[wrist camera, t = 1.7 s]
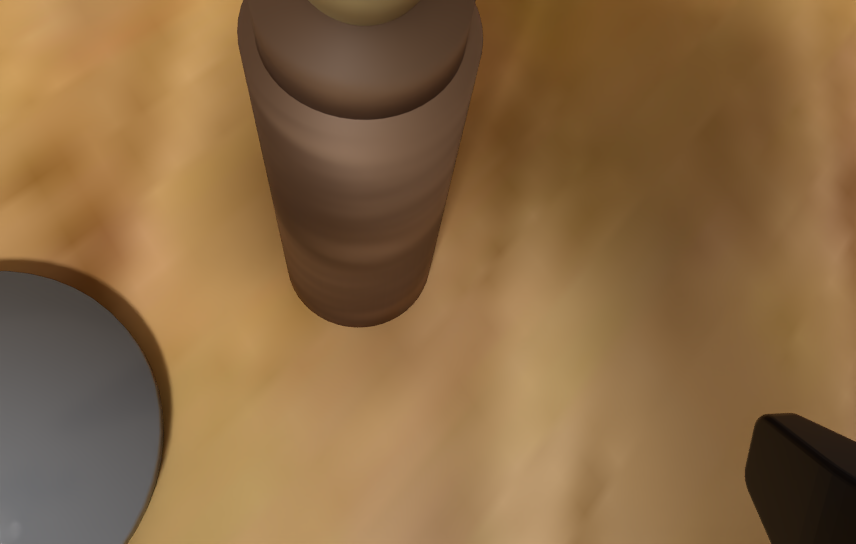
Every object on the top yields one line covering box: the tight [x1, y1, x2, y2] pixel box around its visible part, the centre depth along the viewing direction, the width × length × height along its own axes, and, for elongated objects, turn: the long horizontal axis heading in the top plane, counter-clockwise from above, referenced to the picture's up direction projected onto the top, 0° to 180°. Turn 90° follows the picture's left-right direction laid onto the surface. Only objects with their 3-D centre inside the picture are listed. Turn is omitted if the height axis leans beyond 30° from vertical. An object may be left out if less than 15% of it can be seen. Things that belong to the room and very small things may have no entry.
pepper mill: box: [237, 0, 483, 327], centre depth 18 cm, size 4×4×14 cm
